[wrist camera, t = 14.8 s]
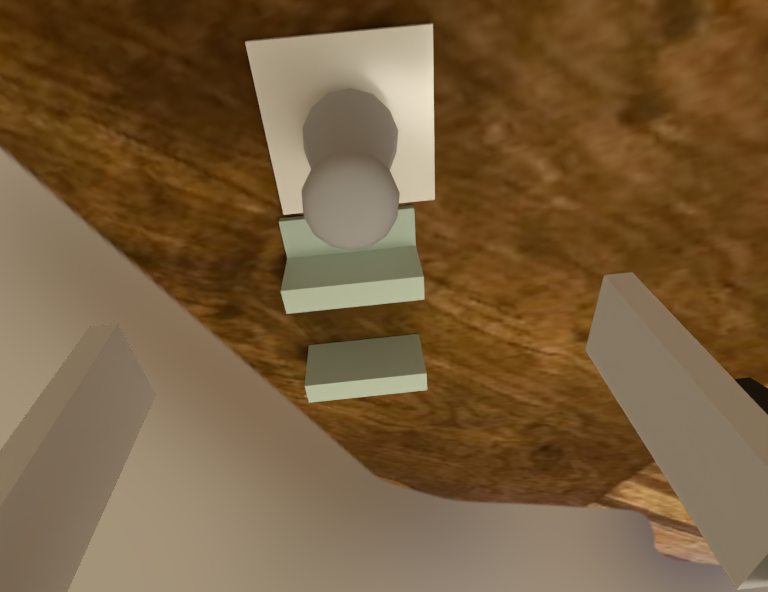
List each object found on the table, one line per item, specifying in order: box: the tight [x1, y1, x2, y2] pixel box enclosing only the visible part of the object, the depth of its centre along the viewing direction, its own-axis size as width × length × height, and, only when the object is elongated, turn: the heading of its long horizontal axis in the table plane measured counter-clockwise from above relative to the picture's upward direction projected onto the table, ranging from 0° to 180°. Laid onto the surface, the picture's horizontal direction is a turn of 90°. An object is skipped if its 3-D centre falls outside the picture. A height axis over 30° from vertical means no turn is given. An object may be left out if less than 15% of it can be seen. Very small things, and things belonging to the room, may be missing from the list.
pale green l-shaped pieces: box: [279, 205, 427, 403], centre depth 37 cm, size 18×10×5 cm, turn 4°
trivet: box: [245, 23, 435, 215], centre depth 30 cm, size 11×11×1 cm
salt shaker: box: [302, 88, 400, 251], centre depth 24 cm, size 6×6×13 cm
